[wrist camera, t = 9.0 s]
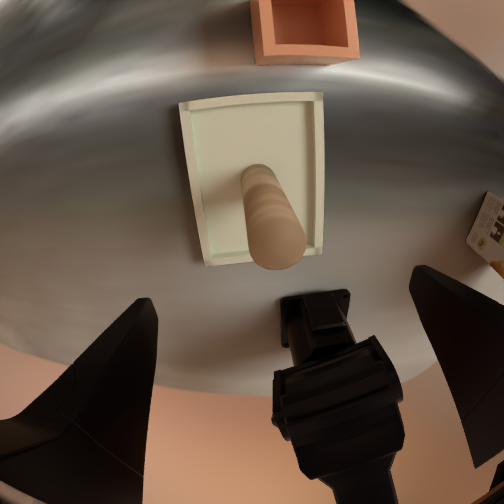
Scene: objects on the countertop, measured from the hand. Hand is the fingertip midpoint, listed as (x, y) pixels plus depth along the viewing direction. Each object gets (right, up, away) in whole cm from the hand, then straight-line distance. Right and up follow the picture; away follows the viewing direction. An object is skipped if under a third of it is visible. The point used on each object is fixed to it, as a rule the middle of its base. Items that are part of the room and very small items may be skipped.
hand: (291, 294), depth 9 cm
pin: (-1, +6, +10) cm, 12 cm away
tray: (-1, +6, +11) cm, 13 cm away
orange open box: (+1, +16, +6) cm, 17 cm away
